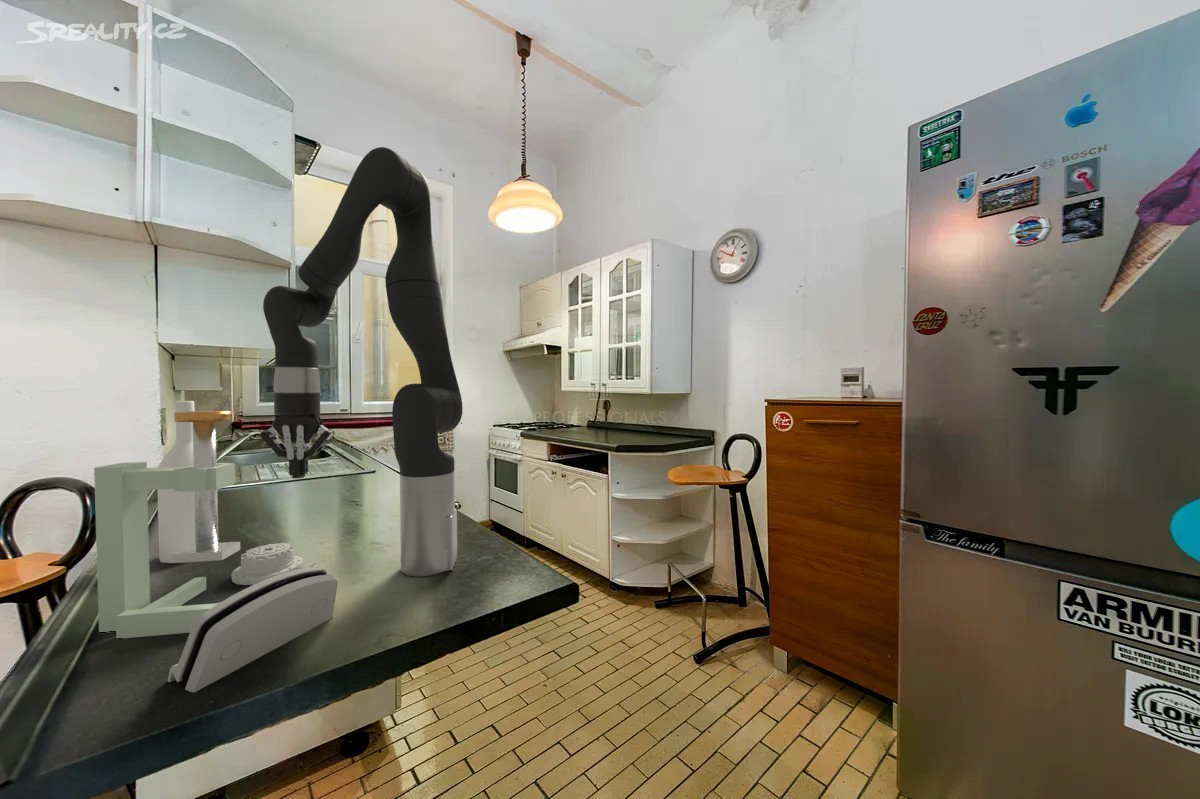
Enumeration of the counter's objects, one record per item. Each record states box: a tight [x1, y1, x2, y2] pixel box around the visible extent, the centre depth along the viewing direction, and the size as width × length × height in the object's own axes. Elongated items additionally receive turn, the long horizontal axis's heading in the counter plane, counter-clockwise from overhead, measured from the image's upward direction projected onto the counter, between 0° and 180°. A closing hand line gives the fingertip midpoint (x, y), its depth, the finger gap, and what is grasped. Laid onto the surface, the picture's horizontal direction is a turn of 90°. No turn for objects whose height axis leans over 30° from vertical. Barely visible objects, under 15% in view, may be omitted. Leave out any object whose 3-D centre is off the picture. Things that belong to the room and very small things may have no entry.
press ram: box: [171, 410, 241, 564], centre depth 61 cm, size 6×6×20 cm
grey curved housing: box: [167, 567, 339, 693], centre depth 55 cm, size 17×5×10 cm, turn 160°
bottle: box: [156, 400, 196, 564], centre depth 85 cm, size 8×8×30 cm
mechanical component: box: [231, 542, 304, 586], centre depth 77 cm, size 10×4×10 cm
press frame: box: [93, 461, 236, 639], centre depth 64 cm, size 20×14×22 cm
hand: (298, 477), depth 87 cm, fingers closed
